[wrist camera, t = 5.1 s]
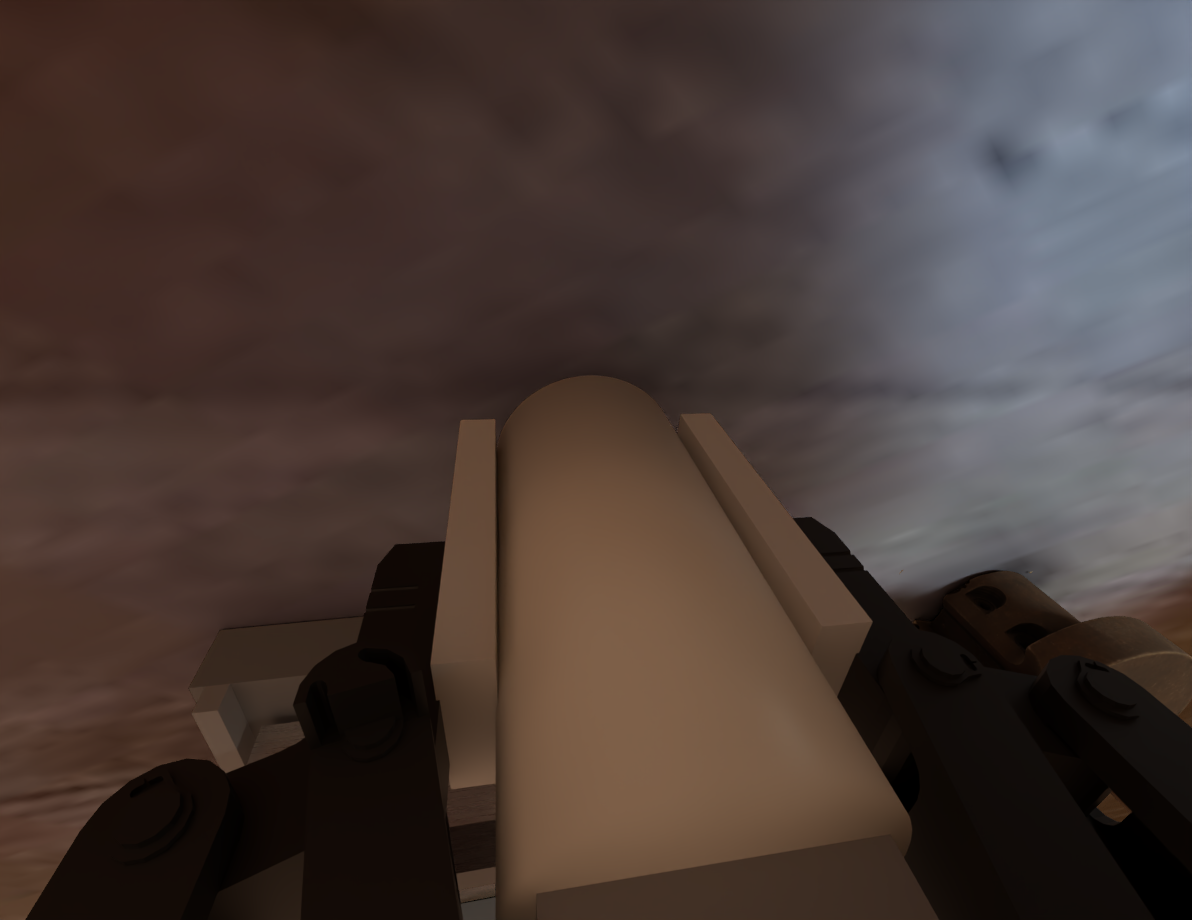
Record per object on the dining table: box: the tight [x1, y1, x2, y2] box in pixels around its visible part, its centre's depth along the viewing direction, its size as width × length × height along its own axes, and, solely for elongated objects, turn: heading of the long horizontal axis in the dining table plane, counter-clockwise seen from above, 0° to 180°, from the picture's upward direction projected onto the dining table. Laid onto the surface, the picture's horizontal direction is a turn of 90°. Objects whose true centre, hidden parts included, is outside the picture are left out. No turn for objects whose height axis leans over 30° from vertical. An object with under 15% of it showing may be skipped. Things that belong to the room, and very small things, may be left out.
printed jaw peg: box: [496, 375, 939, 920], centre depth 9 cm, size 4×4×10 cm
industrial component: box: [899, 570, 1192, 813], centre depth 17 cm, size 9×7×12 cm
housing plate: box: [188, 616, 496, 920], centre depth 22 cm, size 24×16×3 cm, turn 177°
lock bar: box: [247, 721, 496, 890], centre depth 15 cm, size 2×13×4 cm, turn 87°
